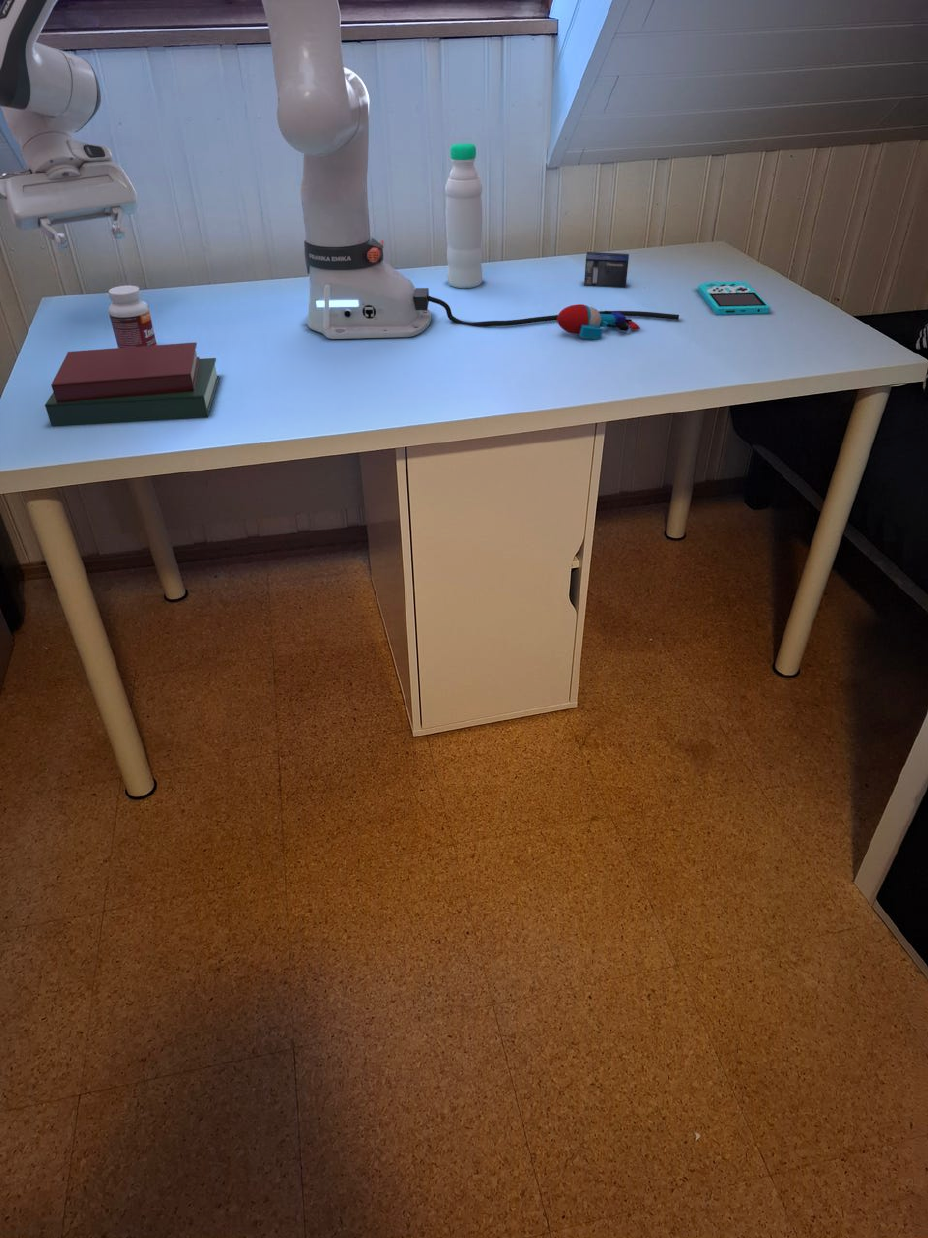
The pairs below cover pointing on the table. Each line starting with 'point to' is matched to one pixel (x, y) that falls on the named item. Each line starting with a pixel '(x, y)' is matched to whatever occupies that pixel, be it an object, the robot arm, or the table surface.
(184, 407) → the lower book
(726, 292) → the handheld game console
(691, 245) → the table surface
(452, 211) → the water bottle
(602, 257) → the mini dv tape
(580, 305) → the toy figure
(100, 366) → the upper book
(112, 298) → the pill bottle
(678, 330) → the table surface
